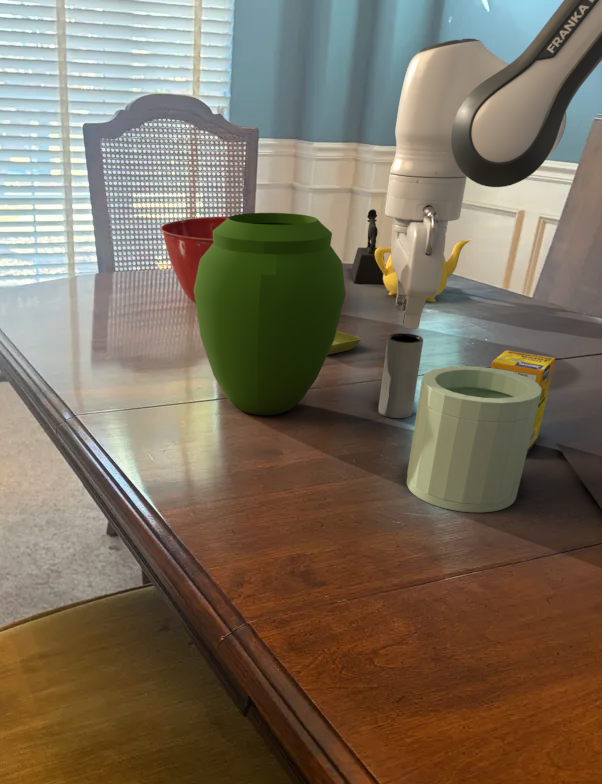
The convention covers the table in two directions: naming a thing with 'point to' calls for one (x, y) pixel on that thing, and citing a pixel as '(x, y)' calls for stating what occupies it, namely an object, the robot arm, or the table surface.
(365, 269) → the sculpture
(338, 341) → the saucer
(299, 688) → the table surface
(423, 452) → the jar
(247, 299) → the vase
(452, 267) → the teapot
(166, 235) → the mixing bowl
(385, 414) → the grey cylinder
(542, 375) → the supplement box
